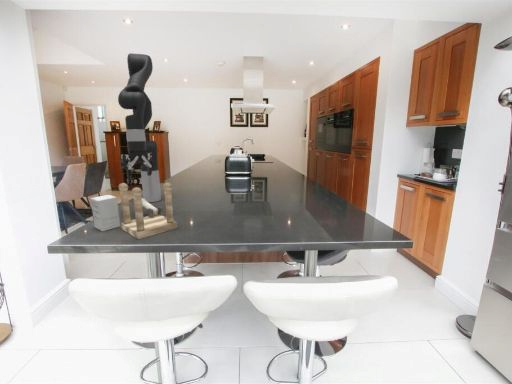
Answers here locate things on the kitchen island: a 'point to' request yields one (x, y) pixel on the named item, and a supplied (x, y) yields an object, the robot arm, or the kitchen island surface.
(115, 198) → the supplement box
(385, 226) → the kitchen island surface
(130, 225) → the wooden post rack
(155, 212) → the folding leg
